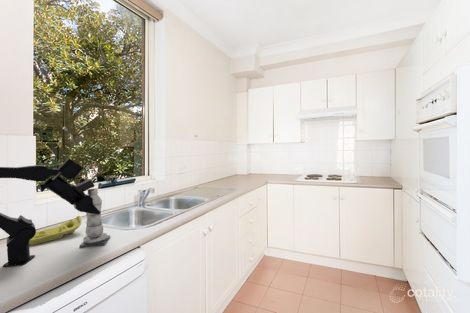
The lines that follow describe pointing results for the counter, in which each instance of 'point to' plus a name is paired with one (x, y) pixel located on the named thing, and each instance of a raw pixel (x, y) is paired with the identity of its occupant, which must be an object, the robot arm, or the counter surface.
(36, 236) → the plastic component
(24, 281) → the counter surface
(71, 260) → the counter surface
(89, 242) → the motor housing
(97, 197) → the plastic bottle
